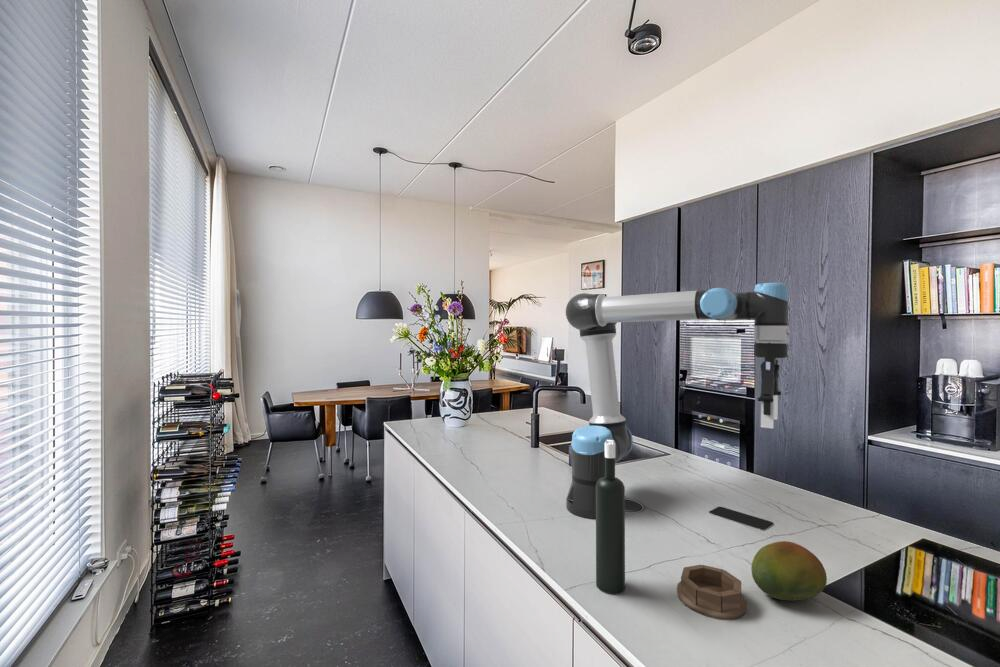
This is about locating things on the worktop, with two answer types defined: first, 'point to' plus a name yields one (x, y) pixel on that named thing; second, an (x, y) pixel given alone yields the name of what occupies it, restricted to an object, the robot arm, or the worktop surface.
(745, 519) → the smartphone
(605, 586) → the wine bottle
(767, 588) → the fruit
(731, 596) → the bowl
